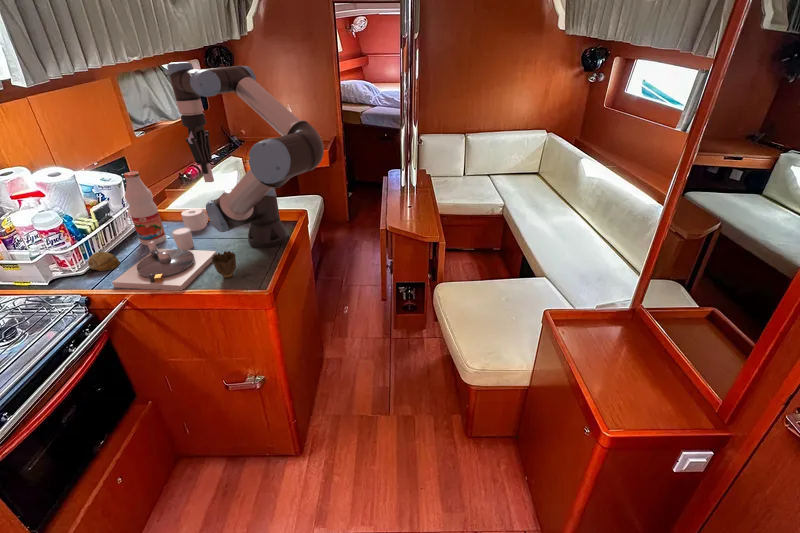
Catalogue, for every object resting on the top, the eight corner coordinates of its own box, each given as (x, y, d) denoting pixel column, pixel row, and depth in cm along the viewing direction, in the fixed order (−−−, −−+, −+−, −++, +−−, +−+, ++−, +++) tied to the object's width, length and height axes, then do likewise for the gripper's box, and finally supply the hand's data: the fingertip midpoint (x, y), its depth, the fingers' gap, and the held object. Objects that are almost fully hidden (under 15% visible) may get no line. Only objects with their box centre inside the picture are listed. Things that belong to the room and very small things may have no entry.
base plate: (217, 255, 159) (214, 244, 156) (182, 290, 138) (178, 278, 136) (157, 253, 161) (153, 242, 159) (114, 287, 140) (109, 275, 138)
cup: (218, 284, 141) (213, 263, 137) (215, 274, 147) (210, 254, 143) (241, 278, 144) (236, 258, 140) (237, 269, 150) (232, 249, 146)
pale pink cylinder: (198, 243, 168) (194, 227, 164) (189, 251, 162) (184, 234, 159) (182, 242, 169) (177, 226, 165) (172, 250, 163) (167, 234, 159)
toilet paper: (209, 219, 188) (205, 205, 185) (203, 230, 179) (199, 215, 175) (190, 221, 187) (186, 206, 184) (183, 231, 178) (178, 216, 174)
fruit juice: (169, 234, 175) (148, 168, 161) (163, 244, 167) (140, 176, 153) (144, 237, 174) (121, 170, 160) (137, 247, 166) (112, 177, 152)
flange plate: (204, 254, 155) (200, 237, 152) (172, 283, 138) (166, 265, 134) (159, 251, 157) (153, 235, 154) (121, 280, 140) (114, 262, 136)
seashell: (118, 271, 158) (104, 254, 157) (128, 262, 155) (114, 244, 154) (94, 280, 149) (79, 262, 148) (103, 270, 146) (88, 251, 145)
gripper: (190, 110, 147) (207, 176, 159) (171, 117, 136) (191, 187, 148) (211, 109, 147) (226, 176, 159) (194, 116, 136) (212, 187, 147)
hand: (209, 181), depth 153 cm, fingers closed
